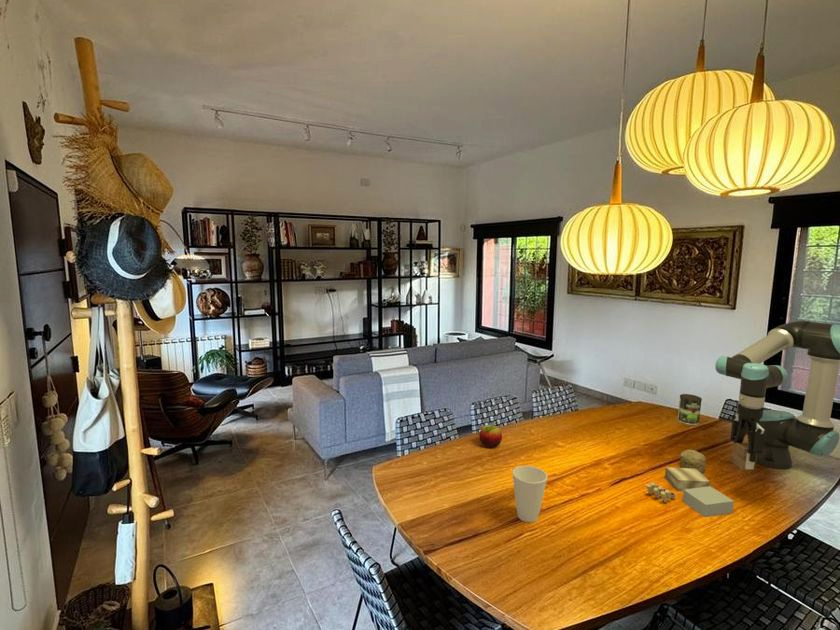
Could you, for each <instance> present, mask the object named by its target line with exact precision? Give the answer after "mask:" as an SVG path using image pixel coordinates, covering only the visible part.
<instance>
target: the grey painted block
mask: <svg viewBox="0 0 840 630" xmlns="http://www.w3.org/2000/svg"><path fill="white" fill-rule="evenodd" d="M681 502H683V503H684V504H685V505H687V506H688V507H690V508H691V509H693V510H694V511H695V512H697V513H698V514H700V515H701V516H702V517H704V518H709V517H714V516H721V515H729V514H733V511H734V503H735V500H734V499H732V498H730V497H728V496H727V495H725V494H723V493H721V492H720V491H719V490H717V489H715V488H714V487H712V486H708V487H700V488H693V489H685V490H683V491H682V500H681Z"/></svg>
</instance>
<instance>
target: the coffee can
mask: <svg viewBox="0 0 840 630" xmlns="http://www.w3.org/2000/svg"><path fill="white" fill-rule="evenodd" d="M702 401H703V399H702V397H700V396H698V395H694V394H689V393H688V394H687V393H682V394H680V395H679V403H678V412H677V421H678V422H679V423H681V424H684V425H688V426H689V425H690V426H697V425H699V424H700V423H699V422H700V418H701V417H700V416H701V407H702Z"/></svg>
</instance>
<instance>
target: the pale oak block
mask: <svg viewBox="0 0 840 630" xmlns="http://www.w3.org/2000/svg"><path fill="white" fill-rule="evenodd" d="M664 479H665V480H666V481H667V482H668V483H669V484H670V485H671V486H672V487H673V489H674V488H675V489H676V490H677V491H676V490H675V489H674V490H675V491H676V492H683V490H685V489H693V488H700V487H708V486H710V485H711V481H710V480H709V479H708V478H707V477H706V476H705V475H704V474H703V473H700V472H699V471H698V470H697V469H692V468H682V467H671V466H670V467H667V466H666V467H665V471H664Z"/></svg>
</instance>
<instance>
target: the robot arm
mask: <svg viewBox="0 0 840 630" xmlns="http://www.w3.org/2000/svg"><path fill="white" fill-rule="evenodd" d="M791 348H798V349H803V350H807V353H806V356H808V358H810V365H809V372H808V376H807V383H806V389H805V396H804V401H803V407H802V408H803V409H802V414H801V415H798V416H797V417H796V418H795V415H794V414H793V413H791V412H789V411H784V410H779V409H766V410H764V408H765V401H766V392H767V389H771V388H774V387H779V386H782V385H784V384H786V382H787V381H788V379H789V373H788V371H787V370H786V369H785V367H783V366H780V365H777V364H776V365H775V364H774V365H773V364H770V365H766V364H762V363H763V362H765V361H767V360H768V359H770V358H771V357H773V356H775V355H776V354H778V353H779V352H781V351H785V350H789V349H791ZM714 366H715V371H716V373H718V374H719V375H723V376H726V377H730V378H733V379H737V380H740V386H739V396H738V404H737V410H736V413H737V415H734V414H733V415H731V418H732V419H731V420H732V423H731V430H730V441H732V442H733V444H734V443H744V440H745V437H746V434H747V441H748V442H747V443H748V444H749V451H747V456H746V464H745V469H744V470H755V469H754V462H755V461H756V464H760V465H761V466H765V467H768V468H773V469H779V470H788V469H791V468H792V464H793V460H792V458H791V452H790V447H792V448H796V449H798V450H801V451H804V452H807V453H809V454H811V455H816V456H819V457H827V456H829V455H831V454H832V453H833V452H834V451H835V449H836V448H837V445H838V444H839V441H840V433H839V432H838V431H837V430H834V428H835V424H834V423H833V422H832V421H831V415H832V411H833V405H834V404H833V403H834V399H835V393H836V387H837V382H838V381H837V380H838V377H839V369H840V324H835V323H824V322H817V321H810V320H809V321H808V320H796V321H791V322H787V323H784V324H781V325H779V326H776V327H774V328H773V329H771V330H770V331H768V333H767V334H766V336H764V337H763V338H761V339H759V340H757V341H756V342H754V343H753V344H751V345H750V346H748V347H746V348H744V349H743V350H741V351H740V352H738V353H736V354H734V355H733V356H729V355H728V356H726V355H722V356H720V357H718V358H717V359H716V362H715V365H714ZM756 455H757V458H756Z"/></svg>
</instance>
